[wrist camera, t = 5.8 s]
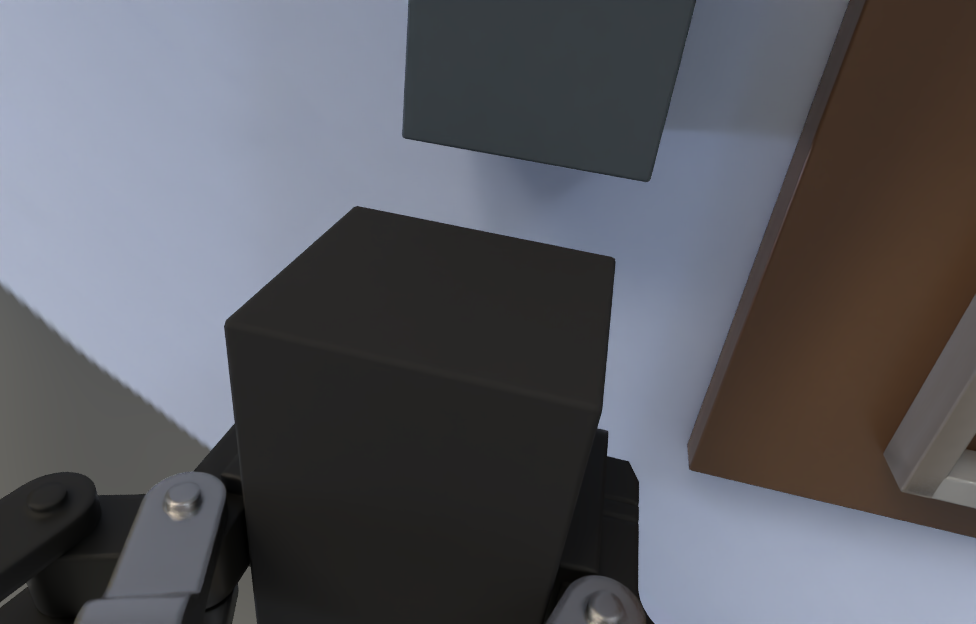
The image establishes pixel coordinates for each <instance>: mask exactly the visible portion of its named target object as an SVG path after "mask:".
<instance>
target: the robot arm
mask: <svg viewBox="0 0 976 624" xmlns="http://www.w3.org/2000/svg"><path fill="white" fill-rule="evenodd" d="M607 448H608V431H607V430H602V429H598V428H597V431H596V434H595V438H594V442H593V445H592V449H591V452H590V456H589V460H588V463H587V467H586V471H585V474H584V478H583V481H582V485H581V489H580V492H579V496H578V499H577V503H576V507H575V510H574V514H573V518H572V521H571V525H570V528H569V532H568V536H567V539H566V543H565V547H564V550H563V554H562V557H561V561H560V565H559V568H558V572H557V575H556V579H555V583H554V586H553V590H552V594H551V597H550V601H549V604H548V608H547V612H546V615H545V619H544V623H543V624H654V623H653V622H652V620H651V619H650V618H649V616H648V615H647V613H646V611H645V610H644V608H643V605H642V603H641V601H640V597H639V591H638V544H639V524H638V520H639V507H638V504H639V481H638V479H637V477H636V475H635V473H634V471H633V469H632V467H631V465H630V463H629V461H625V460H621V459H617V458H613V457H608V456H607ZM248 566H250V567H251V564H250V555H249V546H248V537H247V528H246V519H245V510H244V501H243V492H242V483H241V474H240V465H239V456H238V447H237V438H236V429H235V424H234V425H233V426H232V427H231V428H230V430H229V431H228V432H227V433H226V434H225V435H224V436H223V438H222V439H221V440H220V441H219V442H218V443H217V445H216V446H215V447H214V448H213V449H212V450H211V452H210V453H209V454H208V455H207V456H206V457H205V459H204V460H203V461H202V462H201V463H200V464H199V465H198V467H197V468H196V469H195V470H194V471H193V472H185V473H180V474H176V475H173V476H170V477H168V478H166V479H164V480H162V481H160V482H159V483H157V484H156V485H155V486H153V487H152V488H151V489H150V490H149V491H148V492H147V494H139V495H97V491H96V488H95V485H94V483H93V482H92V480H91V479H89V478H88V477H87V476H85V475H82V474H79V473H73V472H60V473H53V474H49V475H45V476H42V477H39V478H36V479H34V480H32V481H30V482H28V483H26V484H24V485H22V486H21V487H19V488H18V489H16V490H15V491H13V492H11V493H10V494H8V495H7V496H5V497H3V498H2V499H0V602H1V601H2V600H4V599H5V598H6V597H7V596H9V595H10V594H12V593H13V592H14V591H16V590H17V589H18V588H20V587H21V586H22V585H23V584H25V583H27V585H28V587H27V588H25V589H24V590H23V591H22V592H20V593H19V594H18V595H16V596H15V597H14V598H12V599H11V600H10V601H9V602H7V603H6V604H5V605H3V606H2V607H1V608H0V624H232V621H233V616H234V611H235V606H236V602H237V597H238V582H239V580H240V579H241V577H242V575H243V574H244V572H245V571H246V569H247V568H248Z"/></svg>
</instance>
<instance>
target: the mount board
mask: <svg viewBox="0 0 976 624" xmlns="http://www.w3.org/2000/svg"><path fill="white" fill-rule="evenodd" d="M687 448H688V461H689V469H690V470H691V471H696V472H700V473H704V474H708V475H712V476H717V477H721V478H725V479H729V480H734V481H738V482H742V483H746V484H750V485H755V486H759V487H763V488H767V489H772V490H776V491H780V492H784V493H788V494H793V495H797V496H801V497H805V498H810V499H814V500H818V501H822V502H826V503H831V504H835V505H839V506H843V507H847V508H852V509H856V510H860V511H864V512H869V513H873V514H877V515H881V516H885V517H890V518H894V519H898V520H902V521H907V522H911V523H915V524H919V525H923V526H928V527H932V528H936V529H940V530H945V531H949V532H953V533H957V534H961V535H966V536H970V537H974V538H976V0H850V1H849V4H848V7H847V10H846V12H845V15H844V18H843V21H842V23H841V26H840V29H839V31H838V34H837V37H836V40H835V42H834V45H833V48H832V51H831V53H830V56H829V59H828V62H827V64H826V67H825V70H824V72H823V75H822V78H821V81H820V83H819V86H818V89H817V92H816V94H815V97H814V100H813V103H812V105H811V108H810V111H809V113H808V116H807V119H806V122H805V124H804V127H803V130H802V133H801V135H800V138H799V141H798V144H797V146H796V149H795V152H794V154H793V157H792V160H791V163H790V165H789V168H788V171H787V174H786V176H785V179H784V182H783V185H782V187H781V190H780V193H779V195H778V198H777V201H776V204H775V206H774V209H773V212H772V215H771V217H770V220H769V223H768V226H767V228H766V231H765V234H764V236H763V239H762V242H761V245H760V247H759V250H758V253H757V256H756V258H755V261H754V264H753V266H752V269H751V272H750V275H749V277H748V280H747V283H746V286H745V288H744V291H743V294H742V297H741V299H740V302H739V305H738V307H737V310H736V313H735V316H734V318H733V321H732V324H731V327H730V329H729V332H728V335H727V338H726V340H725V343H724V346H723V348H722V351H721V354H720V357H719V359H718V362H717V365H716V368H715V370H714V373H713V376H712V379H711V381H710V384H709V387H708V389H707V392H706V395H705V398H704V400H703V403H702V406H701V409H700V411H699V414H698V417H697V420H696V422H695V425H694V428H693V430H692V433H691V436H690V439H689V441H688V444H687Z"/></svg>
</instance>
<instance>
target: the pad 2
mask: <svg viewBox="0 0 976 624" xmlns="http://www.w3.org/2000/svg"><path fill="white" fill-rule="evenodd" d="M614 274H615V259H614V258H612V257H609V256H604V255H599V254H594V253H589V252H584V251H579V250H574V249H569V248H564V247H559V246H554V245H549V244H544V243H539V242H534V241H529V240H524V239H519V238H514V237H509V236H504V235H499V234H494V233H489V232H484V231H479V230H474V229H469V228H464V227H459V226H454V225H449V224H444V223H439V222H434V221H429V220H424V219H420V218H415V217H410V216H405V215H400V214H395V213H390V212H385V211H380V210H375V209H370V208H365V207H360V206H356V207H354V208H352V209H351V210H350V211H349V212H348V213H347V214H346V215H345V216H343V217H342V218H341V219H340V220H339V221H338V222H337V223H336V224H334V225H333V226H332V227H331V228H330V229H329V230H328V231H326V232H325V233H324V234H323V235H322V236H321V237H320V238H319V239H317V240H316V241H315V242H314V243H313V244H312V245H311V246H309V247H308V248H307V249H306V250H305V251H304V252H303V253H302V254H300V255H299V256H298V257H297V258H296V259H295V260H294V261H293V262H291V263H290V264H289V265H288V266H287V267H286V268H285V269H283V270H282V271H281V272H280V273H279V274H278V275H277V276H276V277H274V278H273V279H272V280H271V281H270V282H269V283H268V284H266V285H265V286H264V287H263V288H262V289H261V290H260V291H259V292H257V293H256V294H255V295H254V296H253V297H252V298H251V299H250V300H248V301H247V302H246V303H245V304H244V305H243V306H242V307H240V308H239V309H238V310H237V311H236V312H235V313H234V314H233V315H231V316H230V317H229V318H228V319H227V320H226V322H225V325H224V329H225V338H226V347H227V356H228V365H229V374H230V384H231V393H232V402H233V411H234V420H235V429H236V438H237V447H238V456H239V465H240V474H241V483H242V492H243V501H244V510H245V519H246V528H247V537H248V546H249V555H250V564H251V573H252V582H253V591H254V600H255V609H256V618H257V624H543V623H544V619H545V615H546V612H547V608H548V604H549V601H550V597H551V594H552V590H553V586H554V583H555V579H556V575H557V572H558V568H559V565H560V561H561V557H562V554H563V550H564V547H565V543H566V539H567V536H568V532H569V528H570V525H571V521H572V518H573V514H574V510H575V507H576V503H577V499H578V496H579V492H580V489H581V485H582V481H583V478H584V474H585V471H586V467H587V463H588V460H589V456H590V452H591V449H592V445H593V442H594V438H595V434H596V431H597V427H598V423H599V420H600V416H601V413H602V406H603V395H604V384H605V373H606V362H607V351H608V340H609V329H610V318H611V307H612V296H613V285H614Z"/></svg>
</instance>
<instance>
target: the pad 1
mask: <svg viewBox="0 0 976 624" xmlns="http://www.w3.org/2000/svg"><path fill="white" fill-rule="evenodd" d="M695 3H696V0H409V4H408V25H407V46H406V67H405V88H404V109H403V130H402V136H403V138H405V139H411V140H416V141H422V142H427V143H433V144H438V145H444V146H449V147H455V148H461V149H466V150H472V151H477V152H483V153H488V154H494V155H499V156H505V157H510V158H516V159H521V160H527V161H532V162H538V163H544V164H549V165H555V166H560V167H566V168H571V169H577V170H582V171H588V172H593V173H599V174H604V175H610V176H615V177H621V178H627V179H632V180H638V181H643V182H649V181H650V179H651V176H652V172H653V168H654V164H655V160H656V156H657V152H658V148H659V144H660V140H661V136H662V133H663V129H664V125H665V121H666V117H667V113H668V109H669V105H670V101H671V97H672V93H673V89H674V85H675V82H676V78H677V74H678V70H679V66H680V62H681V58H682V54H683V50H684V46H685V42H686V38H687V35H688V31H689V27H690V23H691V19H692V15H693V11H694V7H695Z"/></svg>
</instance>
